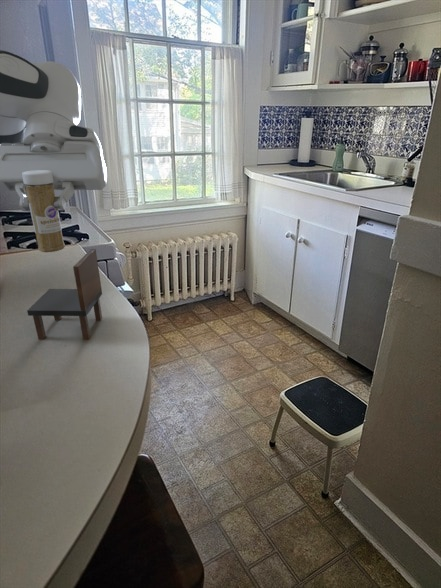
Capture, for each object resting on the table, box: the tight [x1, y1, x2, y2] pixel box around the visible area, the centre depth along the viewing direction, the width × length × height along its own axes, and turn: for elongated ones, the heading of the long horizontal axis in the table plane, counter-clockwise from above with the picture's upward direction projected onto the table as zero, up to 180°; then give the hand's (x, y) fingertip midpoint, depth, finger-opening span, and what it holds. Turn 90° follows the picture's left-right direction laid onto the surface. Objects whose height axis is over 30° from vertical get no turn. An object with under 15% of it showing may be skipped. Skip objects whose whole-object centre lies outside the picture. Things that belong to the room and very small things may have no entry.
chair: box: [26, 248, 103, 341], centre depth 70 cm, size 10×9×14 cm
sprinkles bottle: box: [22, 170, 66, 253], centre depth 67 cm, size 5×5×13 cm
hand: (42, 208), depth 66 cm, fingers closed on sprinkles bottle, 4 cm apart
